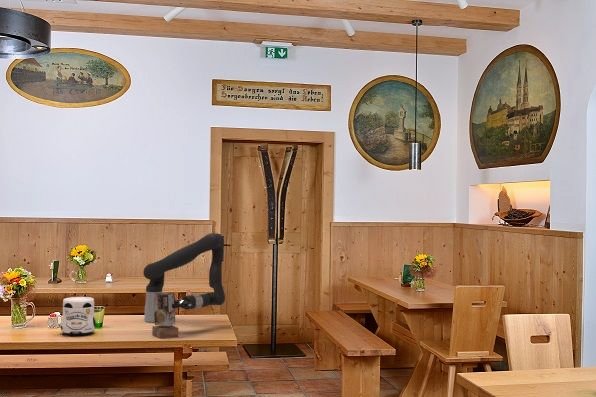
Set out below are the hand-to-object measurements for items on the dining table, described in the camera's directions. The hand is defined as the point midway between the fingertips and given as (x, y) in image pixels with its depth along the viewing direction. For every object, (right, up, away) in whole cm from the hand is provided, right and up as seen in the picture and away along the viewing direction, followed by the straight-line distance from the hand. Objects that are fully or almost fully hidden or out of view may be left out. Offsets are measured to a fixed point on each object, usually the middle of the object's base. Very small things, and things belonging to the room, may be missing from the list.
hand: (167, 305), depth 367 cm
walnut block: (-1, -16, -1) cm, 16 cm away
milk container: (-46, -15, 0) cm, 49 cm away
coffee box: (-1, -10, -1) cm, 10 cm away
